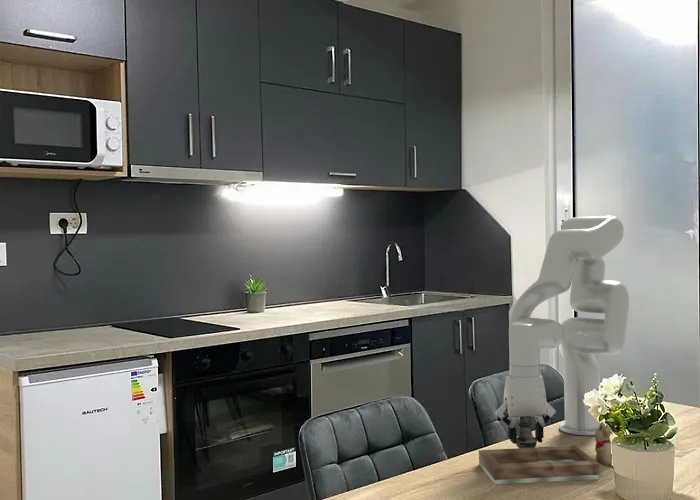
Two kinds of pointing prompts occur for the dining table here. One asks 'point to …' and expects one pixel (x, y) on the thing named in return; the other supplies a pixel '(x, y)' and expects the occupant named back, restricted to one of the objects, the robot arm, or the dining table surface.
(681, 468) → the dining table surface
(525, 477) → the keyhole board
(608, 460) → the chocolate bunny
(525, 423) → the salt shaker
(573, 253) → the robot arm
